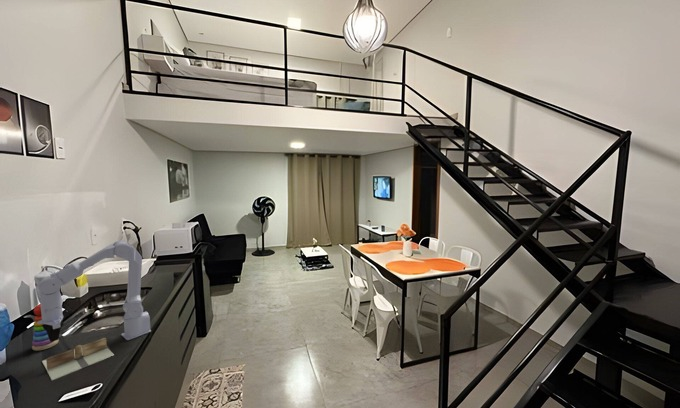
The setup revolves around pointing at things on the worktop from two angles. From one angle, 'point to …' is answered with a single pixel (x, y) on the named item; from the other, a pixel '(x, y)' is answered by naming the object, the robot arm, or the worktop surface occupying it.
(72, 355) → the fence panel
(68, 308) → the worktop surface
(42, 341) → the stacking toy
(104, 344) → the fence
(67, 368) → the card
